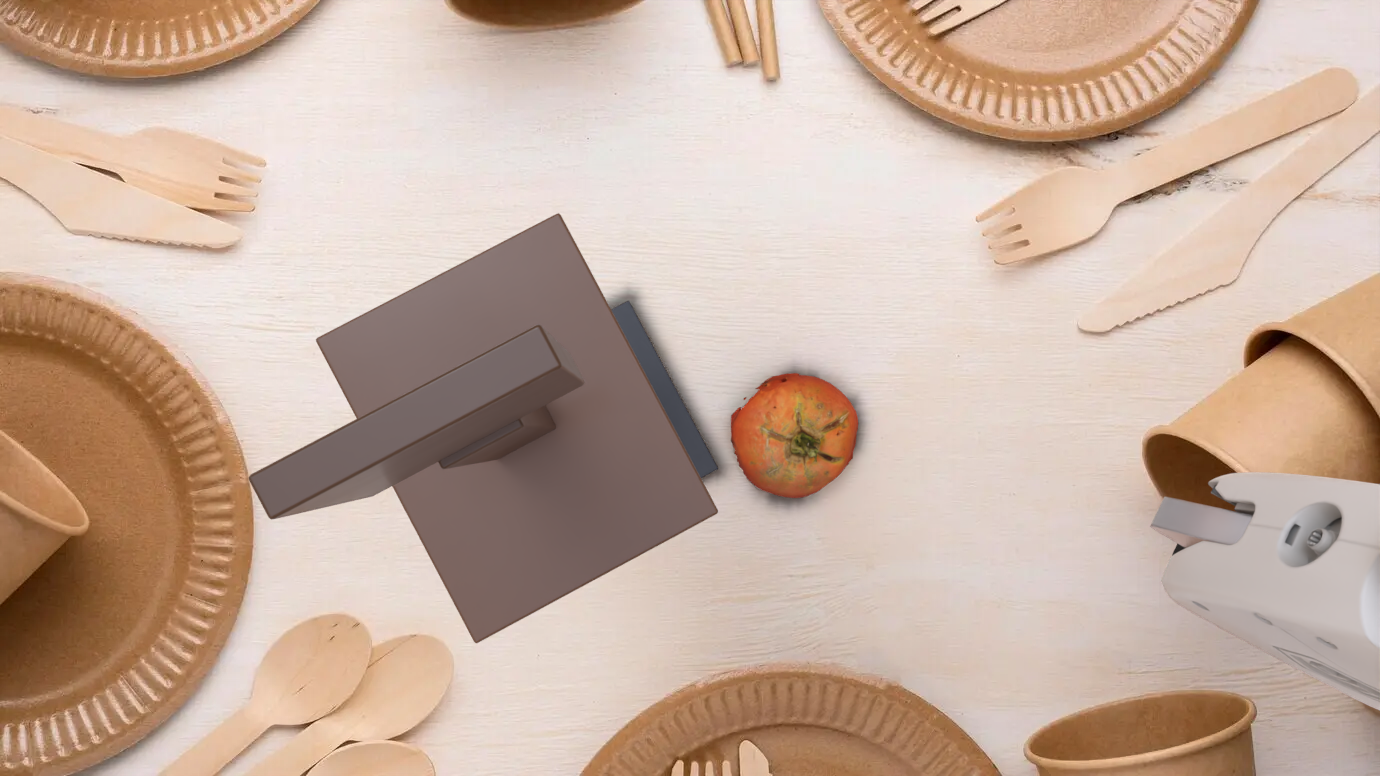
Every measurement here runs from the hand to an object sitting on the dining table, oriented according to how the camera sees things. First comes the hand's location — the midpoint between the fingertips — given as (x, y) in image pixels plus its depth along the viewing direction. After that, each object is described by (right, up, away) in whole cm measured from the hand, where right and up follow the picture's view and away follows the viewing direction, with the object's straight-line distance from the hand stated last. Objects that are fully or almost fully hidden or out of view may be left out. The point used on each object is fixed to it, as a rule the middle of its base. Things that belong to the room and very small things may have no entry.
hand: (1197, 563), depth 44 cm
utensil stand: (-28, +5, +22) cm, 36 cm away
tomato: (-15, +4, +23) cm, 28 cm away
